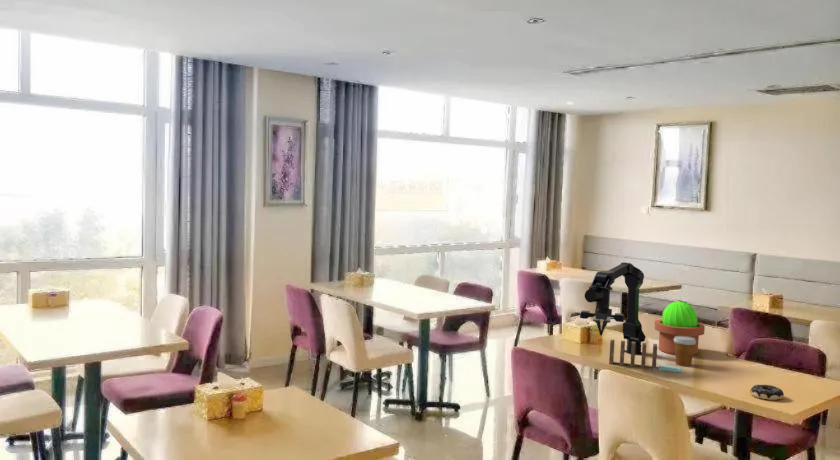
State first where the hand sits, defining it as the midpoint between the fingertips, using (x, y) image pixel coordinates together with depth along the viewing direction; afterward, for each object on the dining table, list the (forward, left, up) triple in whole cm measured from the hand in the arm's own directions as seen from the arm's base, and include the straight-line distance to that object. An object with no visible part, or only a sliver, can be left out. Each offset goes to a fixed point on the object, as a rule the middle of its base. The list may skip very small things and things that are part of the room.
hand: (601, 335), depth 313 cm
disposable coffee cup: (+14, +35, -12) cm, 39 cm away
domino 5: (+15, +18, -12) cm, 26 cm away
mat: (+19, +23, -12) cm, 32 cm away
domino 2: (+6, +7, -12) cm, 15 cm away
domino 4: (+12, +14, -12) cm, 22 cm away
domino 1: (+3, +4, -12) cm, 13 cm away
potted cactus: (-7, +51, -12) cm, 53 cm away
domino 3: (+9, +11, -12) cm, 18 cm away
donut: (+62, +31, -12) cm, 70 cm away
